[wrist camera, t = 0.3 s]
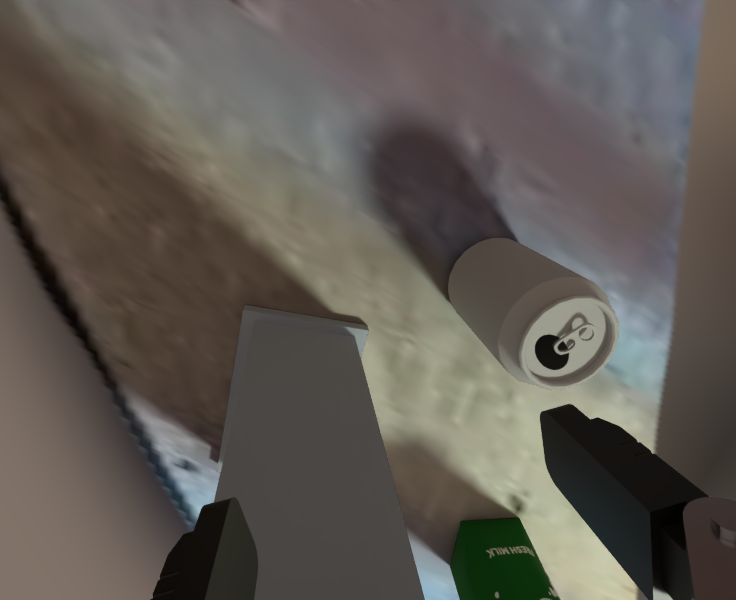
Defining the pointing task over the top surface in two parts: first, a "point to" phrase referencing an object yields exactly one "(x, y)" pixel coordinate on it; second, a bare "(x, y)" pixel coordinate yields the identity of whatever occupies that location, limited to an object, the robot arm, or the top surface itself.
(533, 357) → the can
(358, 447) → the stand
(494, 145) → the top surface
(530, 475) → the top surface
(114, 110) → the top surface
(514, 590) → the milk carton
